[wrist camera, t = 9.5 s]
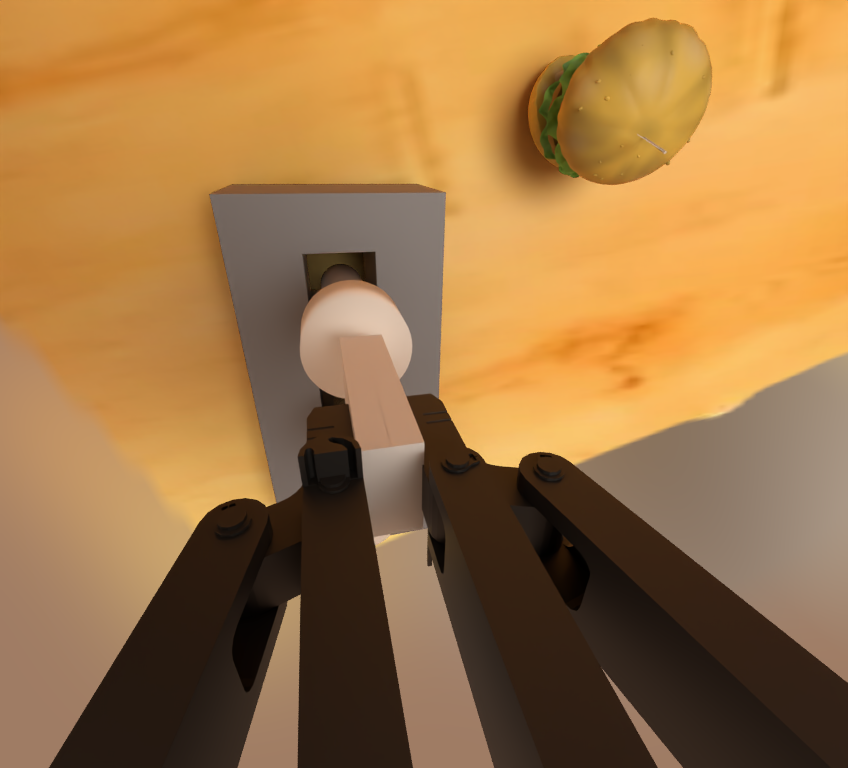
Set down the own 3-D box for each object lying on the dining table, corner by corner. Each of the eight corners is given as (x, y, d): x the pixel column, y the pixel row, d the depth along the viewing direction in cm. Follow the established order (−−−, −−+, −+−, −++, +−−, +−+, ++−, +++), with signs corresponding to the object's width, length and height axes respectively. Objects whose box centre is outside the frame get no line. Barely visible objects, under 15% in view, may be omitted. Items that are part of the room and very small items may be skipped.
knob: (308, 322, 25) (307, 405, 17) (298, 247, 23) (291, 300, 15) (379, 317, 26) (412, 393, 18) (376, 245, 24) (412, 293, 16)
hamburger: (625, 88, 29) (797, 55, 19) (574, 194, 32) (699, 215, 22) (537, 29, 26) (683, -49, 16) (489, 151, 29) (587, 151, 19)
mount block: (291, 492, 39) (287, 553, 33) (232, 184, 26) (209, 194, 20) (416, 473, 41) (434, 527, 35) (417, 184, 29) (445, 192, 23)
